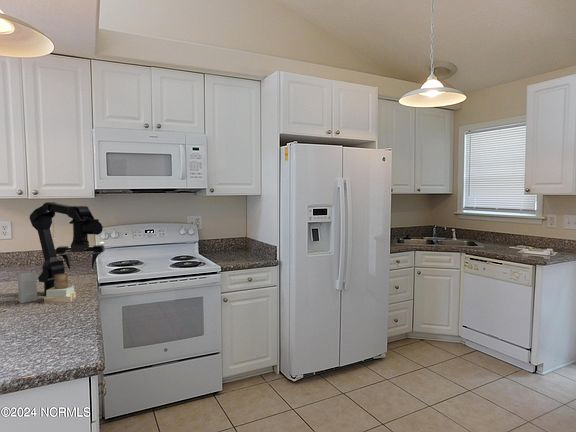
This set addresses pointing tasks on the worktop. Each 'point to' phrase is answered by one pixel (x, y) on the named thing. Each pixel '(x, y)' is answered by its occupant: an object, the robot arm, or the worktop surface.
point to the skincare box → (27, 287)
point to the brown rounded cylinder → (61, 281)
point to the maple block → (60, 299)
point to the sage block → (59, 292)
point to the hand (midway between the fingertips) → (81, 268)
